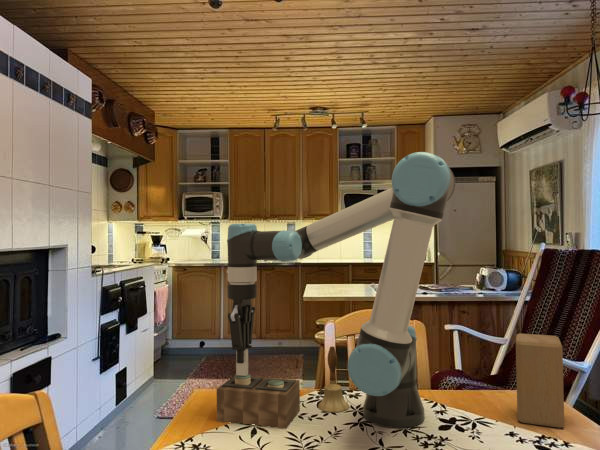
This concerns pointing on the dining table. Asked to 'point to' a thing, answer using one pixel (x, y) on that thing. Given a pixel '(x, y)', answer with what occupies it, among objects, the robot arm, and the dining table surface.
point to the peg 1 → (243, 379)
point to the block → (539, 380)
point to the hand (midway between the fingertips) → (242, 374)
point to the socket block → (259, 402)
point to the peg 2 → (276, 383)
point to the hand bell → (333, 389)
